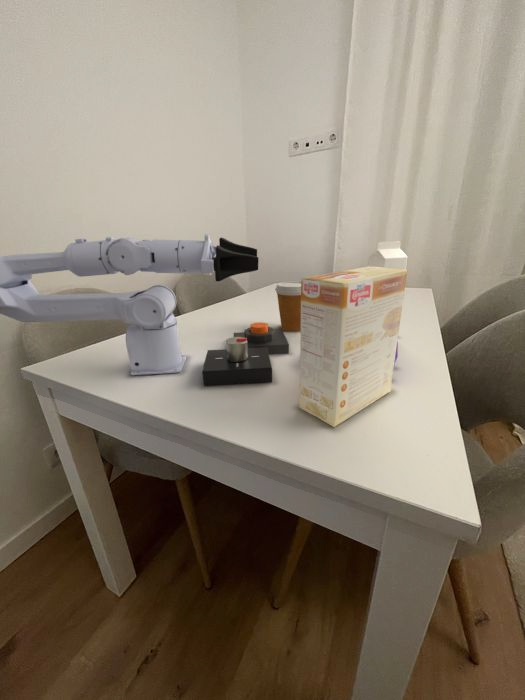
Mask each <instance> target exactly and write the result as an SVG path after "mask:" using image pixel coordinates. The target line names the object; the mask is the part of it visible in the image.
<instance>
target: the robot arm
mask: <svg viewBox="0 0 525 700" xmlns="http://www.w3.org/2000/svg"><path fill="white" fill-rule="evenodd" d="M210 237H211V234H210V233H205V234H204V240H194V239H193V240H189V239H188V240H187V239H186V240H185V239H156V238H154V239H152V240H150V239H142V240H141V239H138V238H134V237H133V238H132V237H126V238H124V237H120V238H117V239H115V237H114V236H107V237H105V239H104V240H103V239H102V240H93V241H92V240H91V241H88V239H87V238H76V239H75V240H74V241H75V242H71V243H69V244H68V245H67V246H66V248H65V249H64V250H63V251H58V252H57V251H56V252H55V251H54V252H41V253H40V252H38V253H37V252H35V253H20V254H19V253H18V254H12V255H11V254H9V255H2V256H0V315H1V316H5V317H8V318H10V319H13V320H15V321H18V322H21V323H50V322H51V323H52V322H54V323H55V322H78V321H79V322H87V321H89V322H90V321H92V322H93V321H122V322H123V323H124V324H128V325H129V326H128V327H126V331H125V345H126V350H127V356H128V360H129V365H130V370H131V371H130V376H143V375H161V374H177V373H178V374H179V373H181V372H182V371H183V368H184V366H185V364H186V360H187V358H188V356H187V355H186V354H182V349H181V342H180V334H179V327H178V326H179V325H178V320H177V318H176V317H175V314H174V313H173V312H174V311H175V309H176V307H177V303H178V302H177V297H176V294H175V293H174V291H173V290H172V289H171V288H169V287H168V286H166V285H163V284H155V285H152V286H150V287H149V288H147V289H141V290H139V289H138V290H132V291H127V292H107V293H67V294H66V293H64V294H40V293H39V291H38V290H37V289H36V287H35V286H34V284H33V283H32V282H31V279H32V278H33V275H38V274H45V273H54V272H62V271H69V272H71V273H72V274H73V275H74V276H77V277H80V278H81V277H93V276H94V277H95V276H105V275H106V276H107V275H115V274H117V273H120V274H124V275H125V276H130V275H134V274H136V273H137V272H139V271H140V272H144V273H145V272H148V273H156V274H182V275H183V274H185V275H186V274H190V275H206V276H212V274H214V278H215V282H221V281H223V280H226V279H227V278H230V277H233V276H236V275H241V274H246V273H253V272H256V271H259V256H258V249H257V248H256V247H255V248H254V247H251V246H247V245H242V244H238V243H236V242H235V243H234V242H233V241H230V240H228V239H226V238H225V237H219V239H218V241H219V243H218V244H219V245H214V244H213V242H212V240H211V238H210Z"/></svg>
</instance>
